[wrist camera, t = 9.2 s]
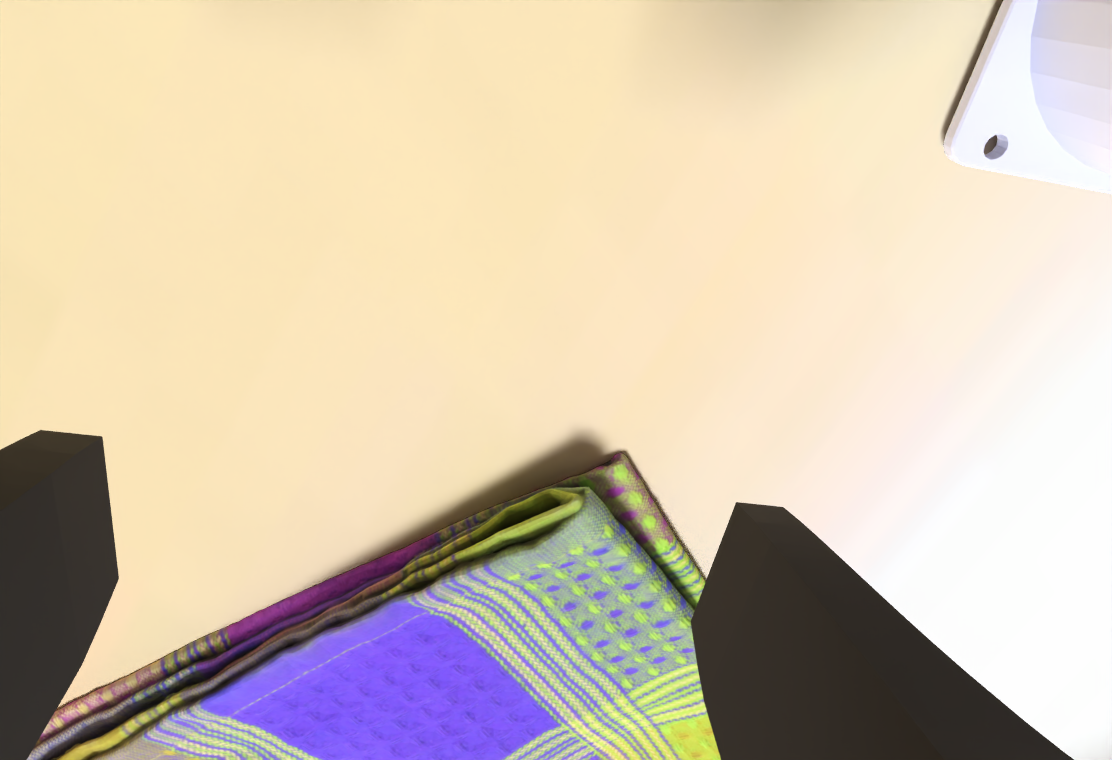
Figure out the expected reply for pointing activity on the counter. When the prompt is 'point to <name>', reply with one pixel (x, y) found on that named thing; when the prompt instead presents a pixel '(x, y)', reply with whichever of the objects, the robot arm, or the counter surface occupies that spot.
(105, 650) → the counter surface
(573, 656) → the dish towel
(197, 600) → the counter surface
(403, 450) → the counter surface
